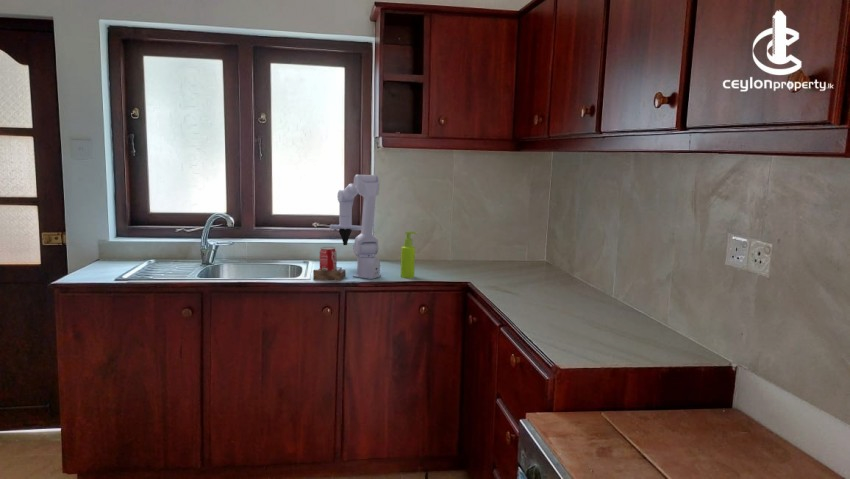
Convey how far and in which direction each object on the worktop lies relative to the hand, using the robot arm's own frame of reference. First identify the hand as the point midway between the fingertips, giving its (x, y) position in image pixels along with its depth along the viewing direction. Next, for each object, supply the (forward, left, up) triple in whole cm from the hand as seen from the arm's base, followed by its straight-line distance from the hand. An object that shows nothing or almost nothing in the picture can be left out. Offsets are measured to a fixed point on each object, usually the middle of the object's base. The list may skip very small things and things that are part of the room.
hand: (345, 244), depth 276 cm
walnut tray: (-9, +25, -10) cm, 29 cm away
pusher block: (-6, +19, -11) cm, 23 cm away
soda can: (-8, +26, -11) cm, 29 cm away
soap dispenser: (-36, +4, -11) cm, 38 cm away
